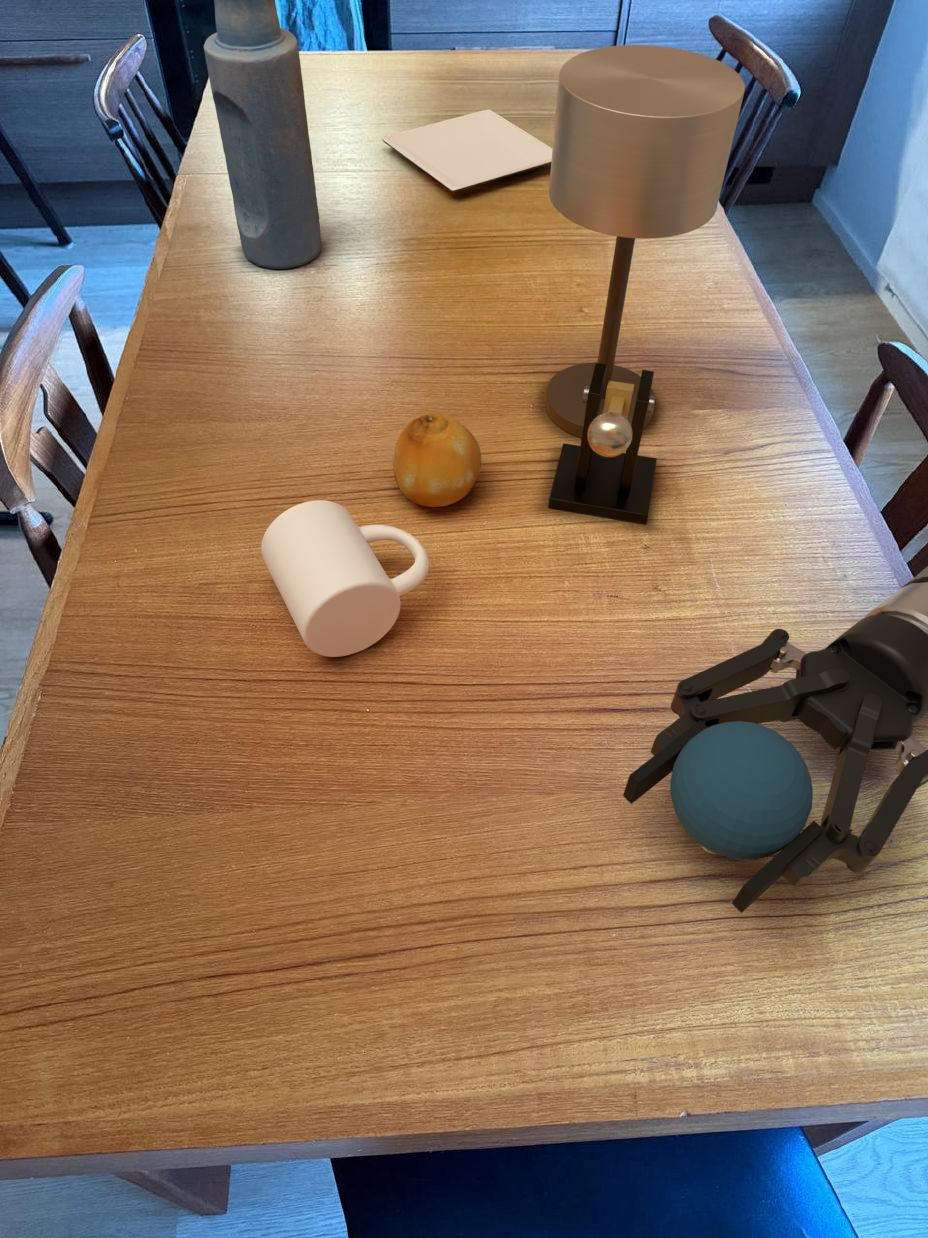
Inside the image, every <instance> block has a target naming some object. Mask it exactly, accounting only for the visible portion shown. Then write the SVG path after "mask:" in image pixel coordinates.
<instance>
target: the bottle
mask: <svg viewBox="0 0 928 1238" xmlns="http://www.w3.org/2000/svg"><path fill="white" fill-rule="evenodd" d="M274 1H275V0H213V3H214V17H215V18H214V19H215V29H216V32H214V33H213V34H211V35H210V36H208V37H207V38H206V40H205V41H204V44H203V51H204V59H205V63H206V67H207V75H208V79H209V85H210V90H211V95H212V100H213V103H214V107H215V108H214V109H215V112H216V113H215V114H216V119H217V123H218V128H219V134H220V139H221V143H222V149H223V153H224V159H225V166H226V170H227V175H228V181H229V186H230V190H231V195H232V201H233V208H234V214H235V215H234V216H235V219H236V226H237V229H238V234H239V240H240V243H241V245H240V246H241V250H242V253H243V255H244V256H245V258H246V259H247V260H248V261H250V262H251V263H252V264H254V265H255V266H258V267H262V268H266V269H273V270H287V269H291V268H297V267H300V266H303V265H306V264H307V263H309V262H312V261H313V260H314V259H315V258H317V256H319V254H320V253H321V251H322V245H323V241H322V233H321V223H320V213H319V206H318V197H317V189H316V181H315V171H314V164H313V156H312V149H311V140H310V134H309V125H308V116H307V110H306V100H305V92H304V91H305V90H304V81H303V73H302V67H301V66H302V65H301V58H300V51H299V44H298V39H297V37H296V36H295V35H294V34H293V33H292V32H291V31H289V30H287V29H285V28H282V27H281V24H280V19H279V16H278V12H277V7H276V4H275V2H274Z"/></svg>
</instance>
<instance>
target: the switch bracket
mask: <svg viewBox="0 0 928 1238" xmlns="http://www.w3.org/2000/svg"><path fill="white" fill-rule="evenodd" d="M594 363H595V367H594V371H593V375H592V379H591V383H590V387H589V386H585V387H584V392H583V398H582V403H587V404H586V411H585V418H584V425H583V431H582V438H580V445H577V444H571V443H565V442H563V444H562V446H561V450H560V454H559V459H558V461H557V466H556V470H555V474H554V478H553V482H552V486H551V490H550V494H549V497H548V505H547V508H548V509H553V510H559V511H563V512H564V511H565V512H569V513H577V514H582V515H588V516H592V517H593V516H594V517H598V518H599V517H600V518H604V519H605V518H606V519H611V520H615V521H616V520H617V521H623V522H629V523H634V524H639V525H645V526H646V525H647V523H648V519H649V514H650V513H649V512H650V507H651V502H652V500H651V499H652V495H653V487H654V481H655V475H656V474H655V473H656V468H657V462H658V460H657V459H658V458H657V457H652V456H646V455H640V454H639V451H640V446H641V441H642V437H643V432H644V429H645V428H644V423H645V418H646V414H647V413H652V412H653V413H654V411H653V407H654V408H655V406H654V402H655V403H656V395H655V396H650V393H651V388H652V386H653V381H654V380H653V379H654V374H655V371H654V370H648V369H642V370H641V374H640V376H641V379H640V384H639V389H638V394H637V399H636V404H635V409H634V414H633V419H632V424H631V428H632V440H631V443H630V445H629V447H628V448H627V449H626V450H625V452H623V453H622V454H620V455H618V456H616V457H603V456H600V455H598V454H597V453H595V452H594V451H593V450H592V448H591V447H590V445H589V442H588V436H587V434H588V429H589V426H590V424H591V422H592V421H593V420H594V419H595V418H596V417H597V416H599V411H600V405H601V399H602V392H603V386H604V380H605V374H606V368H607V364H601V363H597V362H594ZM643 428H644V429H643Z"/></svg>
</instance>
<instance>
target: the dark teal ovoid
mask: <svg viewBox="0 0 928 1238" xmlns="http://www.w3.org/2000/svg"><path fill="white" fill-rule="evenodd" d="M669 783H670V784H669V785H670V787H669V788H670V797H671V801H672V806H673V810H674V813H675V815H676V817H677V819H678V821H679V823H680V825H681V826H682V827H683V829H684V830H685V832H686V833H687V834H688V835H689V836H690V837H691V838H692V839H693V840H694V841H695V842H696V843H698V844H699V845H700V846H701V848H702V850H703V851H705V852H706V853H708V854H711V855H719V856H722V857H725V858H728V859H732V860H743V861H749V860H750V861H751V860H759V859H762V858H766V857H769V856H773V855H774V854H778V853H779V852H780V851H781V850H782V849H783V848H785V847H786V846H787V845H788V844H789V843H790V842H791V841H792V840H793V839H794V838H796V837H797V836H798V835H799V834H800V833H801V832H802V831H803V830H804V829H805V828H806V824H807V823H808V820H809V817H810V814H811V811H812V809H813V800H814V788H813V781H812V777H811V774H810V771H809V769H808V766H807V764H806V761H805V760H804V757H803V756H802V754H801V753H800V752H799V750H798V749H797V748H796V747H795V745H793V744H792V742H791V741H789V740H788V739H787V738H786V737H784V736H783V735H782V734H780V733H778V732H777V731H775V730H774V729H772V728H770V727H767V726H765V725H762V724H756V723H752V722H744V721H732V722H726V723H721V724H717V725H713V726H711V727H709V728H707V729H704V730H703V731H701V732H700V733H699V734H697V735H696V736H695V737H693V738H692V739H691V740H689V742H688V743H687V744H686V745H685V746H684V748H683V749H682V750H681V752H680V754H679V755H678V757H677V759H676V762H675V764H674V767H673V771H672V772H671V776H670V781H669Z"/></svg>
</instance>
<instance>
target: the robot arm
mask: <svg viewBox="0 0 928 1238" xmlns="http://www.w3.org/2000/svg"><path fill="white" fill-rule="evenodd" d="M789 640H790V634H789V633H788V631H786V630H785V629H783V628H775V629H773V630H772V631H771V633H770V634H769V635H768V636H767V637H766V638H765V639H764V640H763V641H762V642H761V644H759V645H756V646H754V647H752V648H750V649H747V650H746V651H743V652H741V653H739V654H737V655H735V656H732V657H731V658H728V659H726V660H724V661H721V662H719V663H717V664H716V665H713V666H711V667H709V668H706V669H704V670H702V671H700V672H698V673H696V674H694V675H691V676H689V677H687V678H684V679H683V680H681V681H679V682H678V683H677V686H676V689H675V692H674V695H673V698H672V700H671V704H670V710H671V711H672V712H673V713H674V714H676V715H677V716H678V718H677V719H676V720H675V721H673V722H672V723H671V724H669V725H668V726H667V727H665V728H664V729H663V730H662V731H661V732H659V733H658V734H656V737H655V739H654V741H653V744H652V746H651V748H650V754H652V757H650V758H649V759H648V760H647V761H645V762H644V763H643V764H642V765H640V766H639V767H638V768H637V769H636V770H634V771H632V772H631V773H630V774H629V776H628V779H627V782H626V785H625V788H624V791H623V794H622V796H623V797H624V798H625V800H626V801H627V802H628V803H630V804H631V805H632V804H633V803H635V802H636V801H638V800H639V799H641V798H642V796H644V795H645V794H647V792H648V791H650V790H651V789H652V788H653V787H655V786H656V785H657V784H659V783H660V782H661V781H662V780H664V779H665V778H667V776H668V775H670V774H672V772H673V767H674V764H675V762H676V759H677V757H678V755H679V754H680V752H681V750H682V749H683V748H684V746H685V745H686V744H687V743H688V742H689V740H691V739H692V738H693V737H695V736H696V735H697V734H699V733H700V732H701V731H703V730H704V729H707V728H709V727H711V726H713V725H717V724H721V723H726V722H732V721H744V722H752V723H756V724H759V725H762V724H765V723H769V722H775V721H780V723H785V722H786V723H787V722H791V721H796V720H798V721H799V722H800V723H802V724H803V725H804V726H805V727H807V728H809V729H810V730H813V731H814V732H816V733H818V734H819V735H820V737H821V738H822V739H823V741H824V742H825V743H826V744H828V745H829V746H830V747H831V748H832V749H833V750H837V749H838V751H837V755H836V757H835V762H834V772H833V776H832V779H831V783H830V786H829V790H828V795H827V799H826V802H825V805H824V810H823V812H822V813H823V814H822V818H821V821H820V824H819V823H817V822H816V821H815V820H813V821H811V822H810V824H808V825H807V826H805V827H804V828H803V830H802V831H801V833H800V834H799V835H798V836H797V837H796V838H794V839H793V840H792V841H791V842H790V843H789V844H788V845H787V846H786V847H785V848H783V849H782V850H781V851H779V852H777V853H776V855H775V856H773V858H771V859H770V860H769V861H768V862H767V863H766V864H765V865H764V866H762V867H761V868H760V869H759V870H758V871H757V872H756V873H755V874H754V875H753V876H752V877H751V878H750V879H748V880H747V881H746V882H745V883H744V884H743V885H742V886H741V888H740V890H739V891H738V893H737V894H736V895H735V898H734V899H733V901H732V903H731V905H732V906H733V907H734V908H736V910H738V912H739V913H741V914H743V912H744V911H746V910H747V909H748V908H749V907H750V906H751V905H752V904H753V903H754V902H755V901H756V900H758V899H759V897H761V896H762V895H763V894H764V893H765V892H766V891H767V890H768V889H769V888H770V887H771V886H772V885H773V884H775V882H777V881H778V880H779V879H780V878H781V877H782V878H783V879H784V880H785V881H787V882H788V884H790V885H791V886H792V887H793V888H796V887H798V886H802V885H803V884H804V883H805V882H806V881H807V880H808V879H810V877H811V876H812V875H813V874H815V873H816V871H818V869H820V868H821V867H822V866H823V865H824V864H826V862H827V861H829V860H837V861H840V862H841V863H844V864H845V866H846V868H847V869H849V871H851V872H852V873H855V874H861V873H863V872H864V871H865V870H866V869H867V868H868V867H869V866H870V865H871V863H872V862H873V861H874V860H875V859H876V858H877V857H878V855H879V854H880V853H881V851H882V850H883V848H884V846H885V844H886V842H887V841H888V839H889V837H890V836H891V834H892V833H893V831H894V829H895V828H896V826H897V824H898V823H899V820H900V819H901V817H902V815H903V814H904V812H905V810H906V808H907V806H908V805H909V803H910V801H911V800H912V798H913V796H914V795H915V794H916V791H917V789H919V788H920V787H922V786H924V785H925V784H927V783H928V749H927V748H925V747H924V745H922V744H921V743H920V742H919V741H918V740H917V739H916V738H915V737H914V736H913V735H912V734H913V732H914V726H915V724H916V723H917V722H918V721H919V720H920V719H922V717H924V716H925V715H926V714H927V713H928V565H927V566H926V567H925V568H924V569H922V571H920V572H919V573H918V574H917V575H916V576H914V577H912V579H911V580H909V581H908V582H907V583H905V584H904V585H903V586H901V587H900V588H899V589H898V590H897V591H895V592H894V593H892V594H890V596H889V597H887V598H886V599H884V601H882V602H881V603H880V604H878V605H877V606H876V607H874V608H873V609H872V610H871V611H869V612H867V614H866V615H865V617H863V618H861V619H860V620H859V621H857V622H856V623H855V624H853V625H852V626H851V627H850V628H848V629H847V630H846V631H845V632H843V633H842V634H840V635H839V636H838V637H837V638H836V639H834V640H833V641H832V642H830V643H829V644H828V645H827V646H826V647H824V648H823V649H820V650H814V651H813V650H812V651H809V652H805V651H803V650H801V649H800V648H798V647H796V646H794V645H793V644H792V643H789ZM788 668H789V669H790V668H791V669H794V670H795V678H792V679H788V680H785V682H784V683H782V684H780V685H777V686H771V687H767V688H763V689H758V690H752V691H748V692H743V693H738V694H734V695H728V694H730V693H732V692H735V691H737V690H739V689H740V688H743V687H745V686H747V685H749V684H751V683H754V682H755V681H757V680H759V679H762V678H763V677H764V676H765V675H767V674H768V673H769V672H771V673H772V674H777V673H778V672H779V671H780V672H781V671H783V670H785V669H788ZM726 695H728V696H726ZM890 750H892V751H895V750H896V751H897V754H898V758H897V760H896V761H895V767H896V770H895V772H896V774H897V776H896V777H895V778H894V780H893V781H892V782H891V784H890V785H889V787H888V788H887V790H886V791H885V794H884V795H883V797H882V798H881V799H880V801H879V803H878V805H877V806H876V807H875V810H874V812H873V813H872V814H871V816H870V818H869V819H868V821H867V822H866V824H865V826H864V828H863V829H862V831H861V833H860V834H859V836H857V835H855V834H853V833H852V832H853V828H851V826H852V821H853V817H854V812H855V808H856V805H857V801H858V797H859V792H860V788H861V785H862V779H863V776H864V771H865V768H866V763H867V760H868V759H867V758H868V755H869V753H870V751H890Z"/></svg>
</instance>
